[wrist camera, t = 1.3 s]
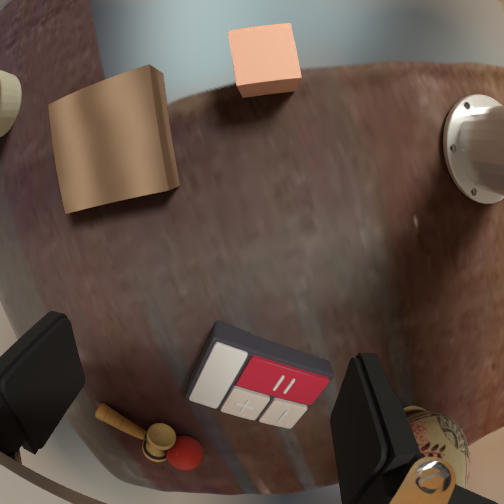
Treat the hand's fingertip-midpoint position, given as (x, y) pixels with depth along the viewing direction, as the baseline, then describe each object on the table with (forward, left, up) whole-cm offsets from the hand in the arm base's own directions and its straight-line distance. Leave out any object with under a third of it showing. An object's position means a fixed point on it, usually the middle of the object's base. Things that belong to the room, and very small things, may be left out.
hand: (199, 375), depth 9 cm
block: (-4, -14, -23) cm, 27 cm away
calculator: (+2, +20, -23) cm, 31 cm away
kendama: (+20, +31, -23) cm, 43 cm away
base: (+12, -10, -23) cm, 28 cm away
